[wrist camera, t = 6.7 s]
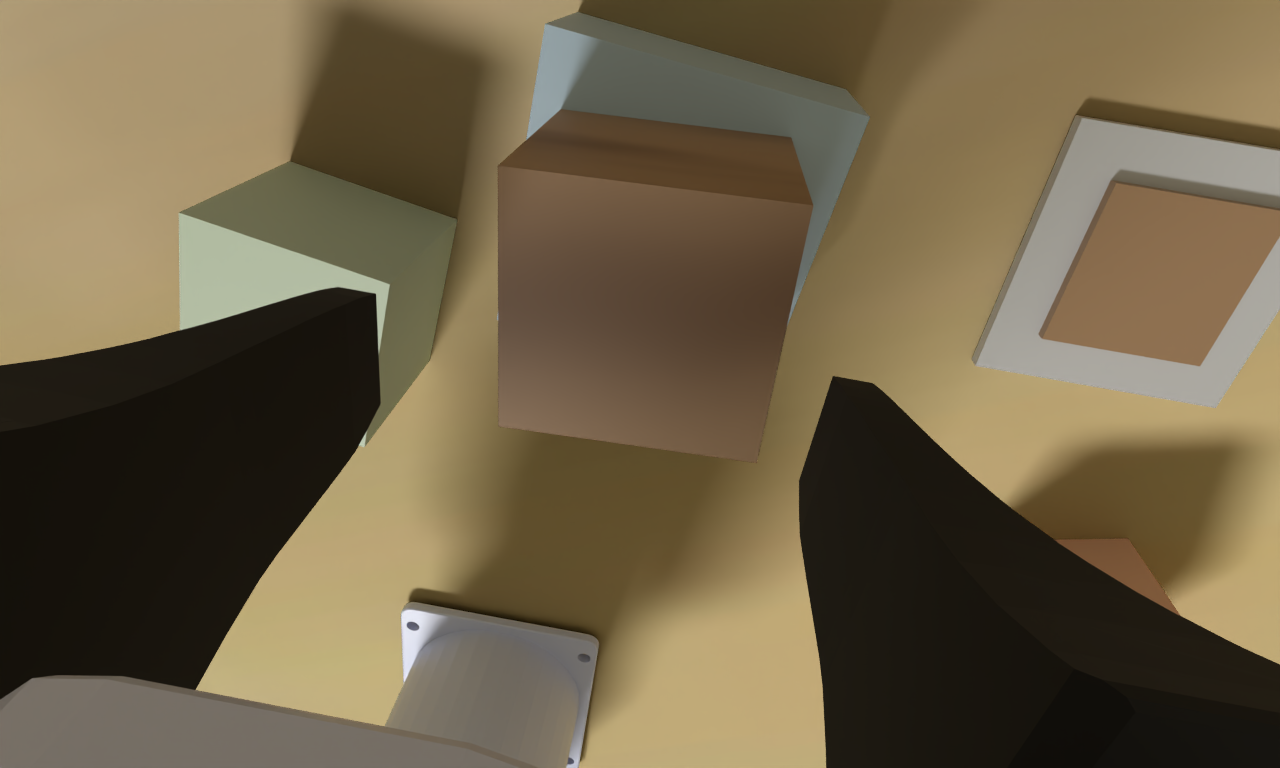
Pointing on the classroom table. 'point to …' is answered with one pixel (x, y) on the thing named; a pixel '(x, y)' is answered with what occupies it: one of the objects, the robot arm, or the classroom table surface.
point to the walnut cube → (646, 281)
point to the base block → (701, 100)
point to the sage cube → (320, 260)
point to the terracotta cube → (1120, 565)
